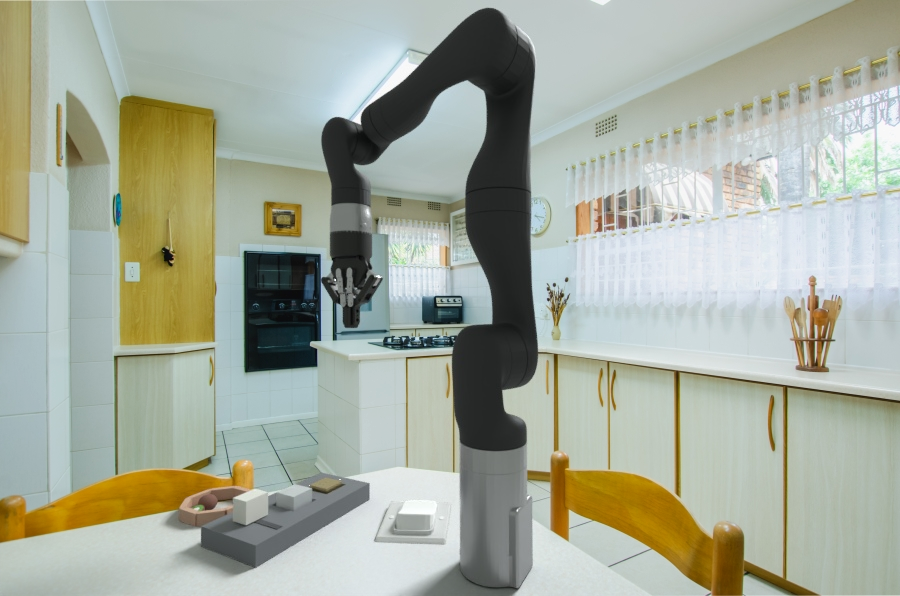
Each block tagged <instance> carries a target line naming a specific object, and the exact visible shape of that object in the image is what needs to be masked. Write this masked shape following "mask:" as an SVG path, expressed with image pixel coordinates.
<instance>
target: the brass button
mask: <svg viewBox="0 0 900 596" xmlns="http://www.w3.org/2000/svg"><path fill="white" fill-rule="evenodd" d="M340 487H342V481H339V480H334V479H330V478H324V479H321V480H319V481H317V482H315V483H313V484H311V485H310V488H312V491H315V492H319V493H323V494H328V493H330V492H332V491H334V490H336V489H338V488H340Z"/></svg>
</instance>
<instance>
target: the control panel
mask: <svg viewBox="0 0 900 596" xmlns="http://www.w3.org/2000/svg"><path fill="white" fill-rule="evenodd" d="M324 478H330V479H334V480H339V479H341V480H339V481H342V487H340V488H338V489H336V490H334V491H332V492H330V493H328V494H323V493H319V492H315V491H312V502H311V503H309V504H307V505H305V506H303V507H301V508H299V509H297V510H295V511H291V510H287V509H284V508H280V507H277V506H276V492H274V493H272V494H270V495H268V515H266V516H264V517H262V518H260V519H258V520H256V521H254V522H252V523H250V524H248V525H243V524H240V523H237V522H234V521H233V512H232V513H229V514H227V515H225V516H223V517H220V518H218V519H216V520H214V521H212V522H209V523H207V524H205V525H203V526H200V547H202V548H205V549H206V550H209V551H212V552H214V553H217V554H219V555H221V556H225V557H227V558H230V559H232V560H235V561H237V562H239V563H242V564H246V565H248V566H250V567H252V568H257V567H259V566H261V565H263V564H264V563H266V562H268V561H269V560H271V559H273V558H274V557H276V556H278V555H280V554H282V552H284V551H286V550H287V549H289V548H291V547H293V546H295V545H297V543H299V542H301V541H302V540H304V539H306V538H308V537H310V536H311V535H313V534H315V533H316V532H318V531H319V530H321V529H323V528H324V527H326V526H329V524H331V523H333V522H334V521H336V520H338V519H339V518H341V517H343V516H344V515H346V514H348V513H349V512H351V511H353V510H354V509H356V508H358V507H360V506H361V505H363V504H364V503H366V502H369V500H370V499H371V498H370V494H371V493H370V489H371V488H370V487H371V486H370V482H365V481H361V480H357V479H354V478H353V479H352V478H348V477H345V476H344V477H343V476H338V475H335V474H331V473H325V472H319V473H317V474H315V475H312V476H310V477H308V478H306V479H303V480H301V481H299V482H296V483H295V484H297V485H301V486H305V487H309V488H310V486H309V485H311V484H313V483H315V482H317V481H319V480H321V479H324Z"/></svg>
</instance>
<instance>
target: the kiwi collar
mask: <svg viewBox="0 0 900 596" xmlns="http://www.w3.org/2000/svg"><path fill="white" fill-rule="evenodd" d="M251 490H252V489H251V488H250V489H249V488H246V487H243V486H238V485H232V486H231V485H230V486H222V487H221V486H220V487H213V488H208V489H205V490H203V491H200V492H197V493H195V494H194V493H193V494H192V495H190V496H187V497H185V498H184V499H183V501H182V503H181V504H180V506H179V507H178V521H179V522H182V523H184V524H188V525H190V526H192V527H201V526H203V525H205V524H207V523H209V522H212V521H214V520H216V519H218V518H220V517H223V516H225V515H227V514H229V513H232V512H233V504H231V505H229V506H227V507H224V508H223V507H222V508H213V509H212V510H206V511H198V510H195V509H192V507H194V506H196V505H198V502H199V499H200V498H201V497H202V496H204V495H207V494H212V495H214V496H216V498H217V501H224V500H225V501H226V500H233V498H234V497H236V496H239V495H241V494H244V493H246V492H248V491H251Z"/></svg>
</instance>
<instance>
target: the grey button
mask: <svg viewBox="0 0 900 596" xmlns="http://www.w3.org/2000/svg"><path fill="white" fill-rule="evenodd" d="M275 493H276V506H277V507H280V508H284V509H287V510H291V511H295V510H297V509H299V508H301V507H303V506H305V505H307V504H309V503H311V502H312V488H309V487H305V486H301V485H297V484H296V483H295V484H292V485H290V486H288V487H286V488H283V489H281V490H279V491H276V492H275Z"/></svg>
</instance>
